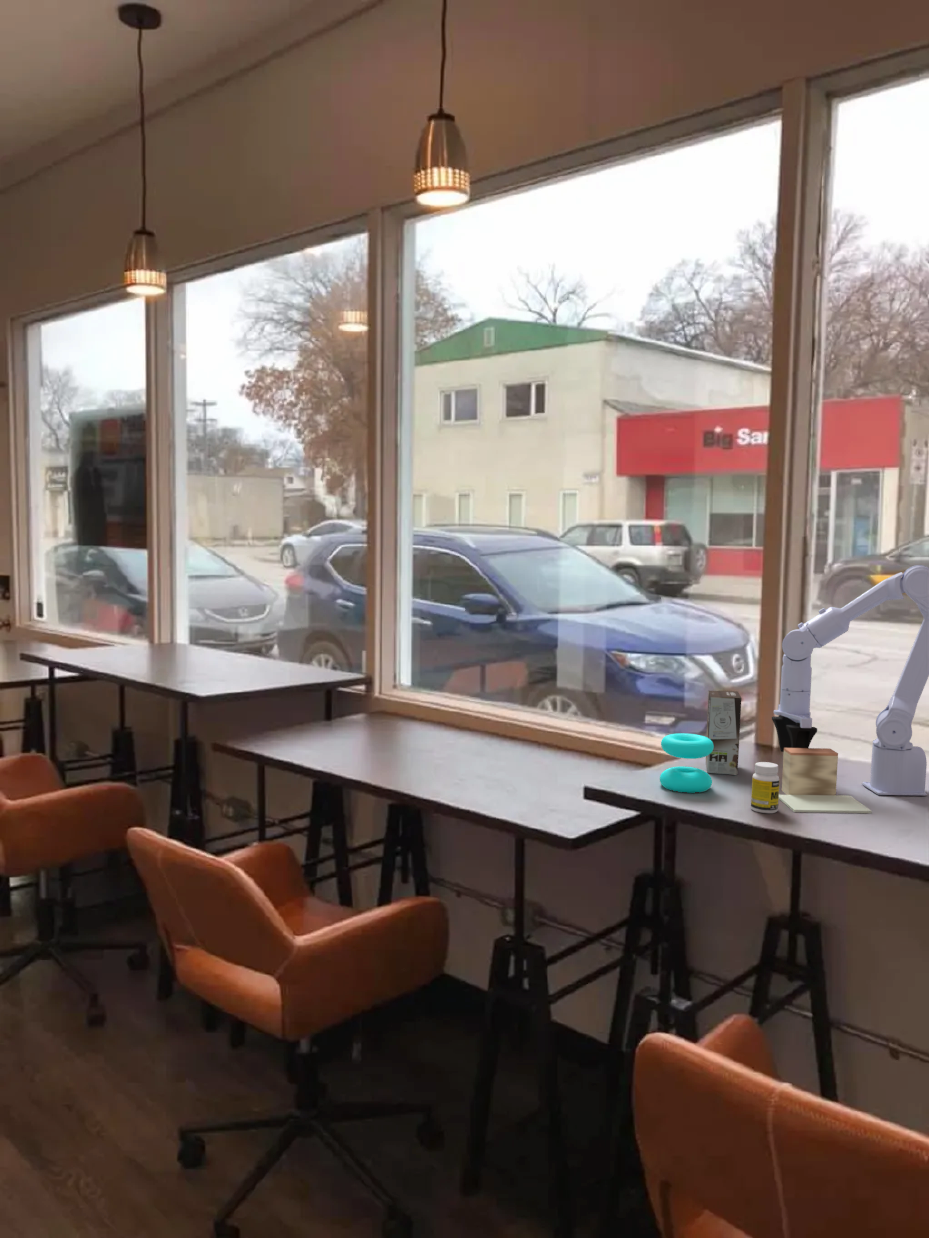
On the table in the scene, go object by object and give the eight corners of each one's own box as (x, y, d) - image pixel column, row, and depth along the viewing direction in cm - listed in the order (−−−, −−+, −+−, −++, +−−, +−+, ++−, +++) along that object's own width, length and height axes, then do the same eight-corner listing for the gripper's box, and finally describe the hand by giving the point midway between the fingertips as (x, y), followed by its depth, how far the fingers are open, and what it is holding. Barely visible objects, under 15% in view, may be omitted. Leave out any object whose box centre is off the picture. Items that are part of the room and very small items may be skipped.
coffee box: (738, 775, 203) (742, 697, 202) (706, 773, 205) (709, 696, 203) (735, 765, 212) (739, 690, 211) (704, 763, 214) (707, 689, 212)
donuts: (656, 731, 197) (706, 732, 197) (654, 780, 198) (704, 781, 198) (667, 742, 187) (719, 743, 188) (665, 794, 188) (717, 795, 189)
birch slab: (827, 791, 193) (830, 748, 192) (835, 797, 189) (838, 753, 188) (781, 790, 193) (783, 747, 192) (788, 796, 189) (790, 752, 188)
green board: (849, 797, 188) (849, 795, 188) (871, 813, 178) (871, 810, 178) (776, 796, 188) (776, 794, 188) (794, 812, 178) (794, 809, 178)
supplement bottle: (773, 815, 176) (776, 769, 175) (747, 810, 178) (749, 765, 178) (780, 809, 180) (783, 763, 179) (754, 804, 183) (757, 759, 182)
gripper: (764, 683, 206) (761, 747, 207) (787, 695, 192) (784, 764, 193) (798, 683, 206) (795, 748, 207) (824, 696, 192) (820, 765, 193)
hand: (792, 756), depth 200 cm, fingers open, 7 cm apart
